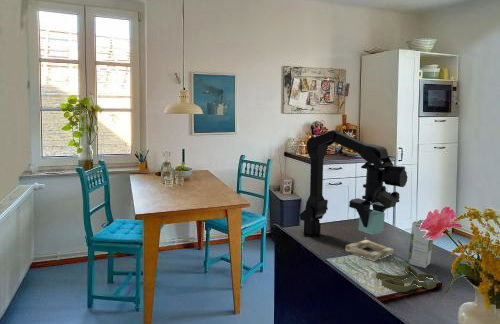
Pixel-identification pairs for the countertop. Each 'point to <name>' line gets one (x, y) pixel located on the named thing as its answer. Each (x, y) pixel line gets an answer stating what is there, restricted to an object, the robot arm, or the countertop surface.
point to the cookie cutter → (396, 280)
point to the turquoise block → (373, 223)
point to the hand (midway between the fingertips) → (371, 225)
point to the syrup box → (419, 247)
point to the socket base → (380, 249)
